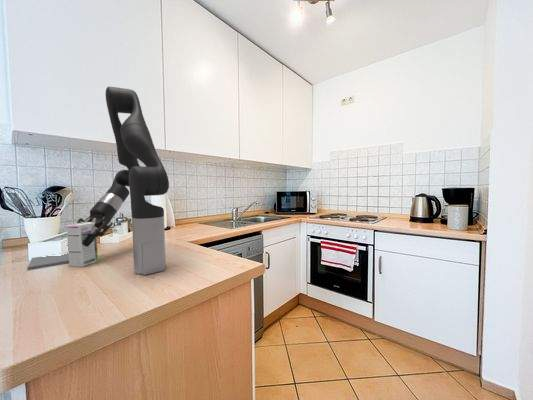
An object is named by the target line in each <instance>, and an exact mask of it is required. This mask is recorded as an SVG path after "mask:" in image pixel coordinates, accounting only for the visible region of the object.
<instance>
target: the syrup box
mask: <svg viewBox="0 0 533 400" xmlns="http://www.w3.org/2000/svg"><path fill="white" fill-rule="evenodd" d="M94 224H95V223H94V222H82V223H77V222H76V223H72V224H71V223H70V224H67V225H65V226H66V228H65V229H66V237H67V238H66V239H67V242H68V243H67V247H68V248H67V253H68V252H69V263H68V264H69V267H75V268H76V267H78V268H79V267H80V268H81V267H82V268H83V267H86V266H88V265H91V264H94V263H97V262H99V260H98V259H99V258H98V245H97V238H95V239H94V240H93V241H92V243H91V244H90V245H89V246H88V247H87V246H84V245H83V244H82V242H83V241H84V240H85V238H86V237H87V236H88V235H89V234H90V232H91V230H92V226H93V225H94Z"/></svg>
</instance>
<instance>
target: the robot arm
mask: <svg viewBox="0 0 533 400" xmlns="http://www.w3.org/2000/svg"><path fill="white" fill-rule="evenodd" d="M105 101H106V108H107V113H108V115H109V120H110V124H111V128H112V132H113V135H114V140H115V144H116V152H117V159H118V163H119V164H120V165H121V166H125V168H127V169H121V170H120V171H118V172H117V173H116V174H115V176H114V178H113V181H112V184H111V186H110V187H109V188H108V190H107V191H106V192H105V193H104V194H103V195H102V196H101V197H100V198H99V199H98V201H97V202H96V203H95V204H94V205H93V207H91V209H90V210H89V216H88V217H87V218H85V219H83V218H79V219H78V220H77V221H76V223H82V222H94V223H95V224H94V225H93V226H92V230H91V232H90V234H89V235H88V236H87V237H86V238H85V240H84V241H83V242H82V244H83V245H84V246H87V247H88V246H89V245H90V244H91V243H92V241H93V240H94V239H95V238H96V239H97V238H98V237H103V236H104V235H105V233H106V232H108V230H110V228H111V227H112V226H113V225H114V223H113V221H112V220H113V218H114V217H115V216H116V215H117V213H118V212H119V210H120V208H121V207H122V205H123V203H125V201H126V199H127V198H128V197H129V195H130V211H131V228H132V231H131V233H132V250H133V251H132V253H133V257H132V258H133V270H134V271H133V272H134V273H135V274H137V275H143V276H145V275H151V274H155V273H159V272H163V271H165V270H166V267H167V261H166V236H165V235H166V234H165V231H166V230H165V210H164V207H162V206H160V205H155V204H153V203H150V202H148V201H147V199H146V197H147V196H149V197H150V196H162V195H165V194H167V193H168V191H169V188H170V181H169V175H168V173H167V171H166V169H165V167H164V164H163V163H162V160H161V158H160V157H159V154H158V153H157V150H156V148H155V145H154V142H153V139H152V135H151V133H150V130H149V128H148V125H147V122H146V120H145V117H144V115H143V110H142V106H141V103H140V98H139V96H138V94H137V92H136V91H135V90H133V89H130V88H122V87H117V86H107V87H106V89H105ZM119 114H128V115H129V114H130V115H129V116H128V117H127V118H126V119H125V120H124V121H123V123H122V122H121V120H120V117H119V116H120V115H119ZM139 161H140V162H142V163H143V165H145V166H140V164H139ZM128 187H129V189H128ZM67 244H68V241H67Z"/></svg>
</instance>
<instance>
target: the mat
mask: <svg viewBox="0 0 533 400" xmlns="http://www.w3.org/2000/svg"><path fill="white" fill-rule="evenodd" d="M66 253H67V254H64V255H61V256H48V255H45V256H46V257H41V256H36V257H31V260H30V262H29V264H28V265H27V271H31V270H32V271H33V270H38V269H43V268H44V269H45V268H50V267H55V266H61V265H62V266H63V265H67V264H69V253H68V252H66Z"/></svg>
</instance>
